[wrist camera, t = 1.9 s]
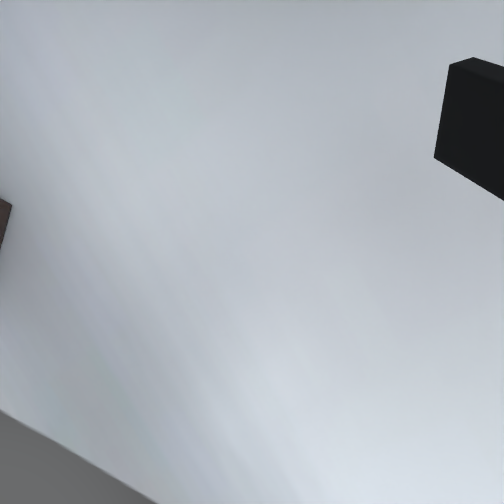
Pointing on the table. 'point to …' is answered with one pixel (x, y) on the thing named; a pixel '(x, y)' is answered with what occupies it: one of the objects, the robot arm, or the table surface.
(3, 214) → the stand
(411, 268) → the table surface
